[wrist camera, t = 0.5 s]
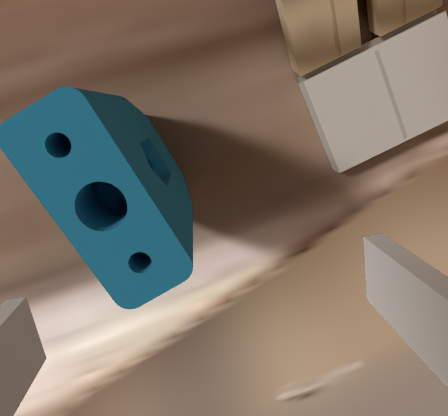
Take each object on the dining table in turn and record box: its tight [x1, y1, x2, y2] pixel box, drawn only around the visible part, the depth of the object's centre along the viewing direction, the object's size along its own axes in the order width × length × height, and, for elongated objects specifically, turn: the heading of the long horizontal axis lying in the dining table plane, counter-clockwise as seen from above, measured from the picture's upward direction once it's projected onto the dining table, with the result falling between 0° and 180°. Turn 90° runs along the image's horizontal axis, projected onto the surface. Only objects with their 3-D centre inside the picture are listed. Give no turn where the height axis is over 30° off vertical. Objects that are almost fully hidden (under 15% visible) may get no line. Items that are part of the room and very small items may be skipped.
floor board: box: [296, 9, 448, 173], centre depth 39 cm, size 11×15×2 cm
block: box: [0, 87, 193, 309], centre depth 30 cm, size 12×5×20 cm, turn 30°
